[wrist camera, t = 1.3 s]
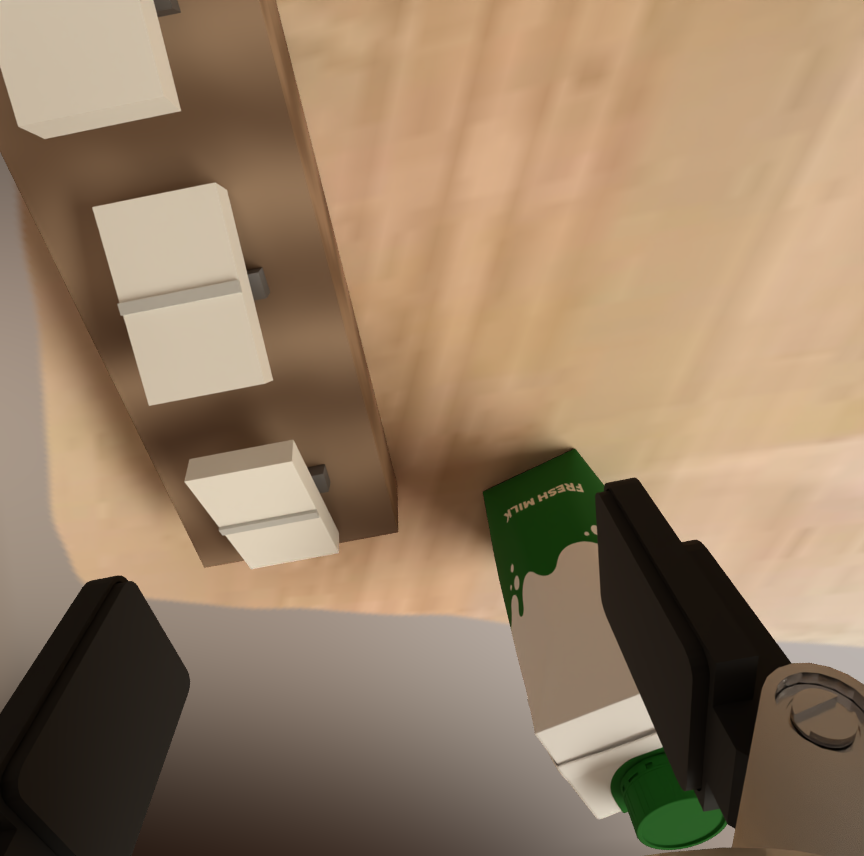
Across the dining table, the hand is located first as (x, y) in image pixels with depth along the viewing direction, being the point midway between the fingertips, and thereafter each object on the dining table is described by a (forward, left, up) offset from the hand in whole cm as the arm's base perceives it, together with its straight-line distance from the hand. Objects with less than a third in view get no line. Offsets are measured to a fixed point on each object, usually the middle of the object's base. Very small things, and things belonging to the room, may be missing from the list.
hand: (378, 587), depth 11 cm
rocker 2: (-2, -8, -18) cm, 20 cm away
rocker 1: (-13, -8, -18) cm, 24 cm away
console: (-2, -8, -24) cm, 26 cm away
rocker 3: (+9, -8, -18) cm, 22 cm away
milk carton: (+18, +8, -24) cm, 31 cm away
